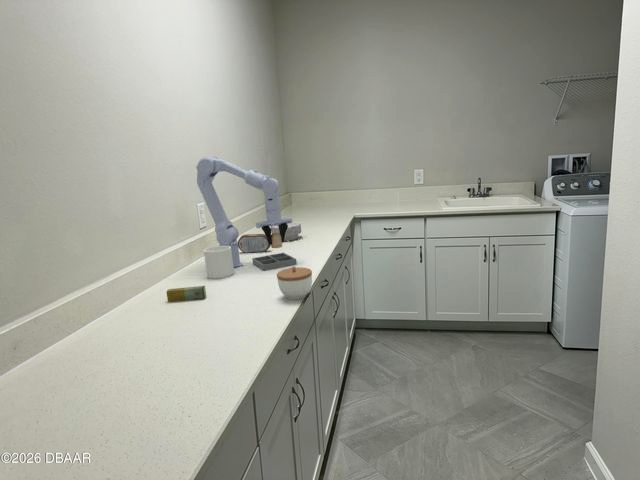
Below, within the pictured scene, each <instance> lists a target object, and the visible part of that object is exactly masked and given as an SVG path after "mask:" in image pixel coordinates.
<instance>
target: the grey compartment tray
mask: <svg viewBox="0 0 640 480" xmlns="http://www.w3.org/2000/svg"><path fill="white" fill-rule="evenodd" d="M251 259H252V264H253V265H254V266H256V267H257V268H258V269H260V270H261V271H263V272H265V271H269V270H276V269H280V268H285V267H290V266H294V265H295V266H296V265H298V263H297V258H295V257H294V256H292V255H289V254H287V253H285V252H280V253H274V254H269V255H263V256H259V257H258V256H257V257H252V258H251Z"/></svg>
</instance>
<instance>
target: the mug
mask: <svg viewBox="0 0 640 480" xmlns="http://www.w3.org/2000/svg"><path fill="white" fill-rule="evenodd" d="M203 256H204V263H205V270H206V277H207V279H210V278H211V280H220V279H225V278H226V279H227V278H230V277H231V276H233V275H234V273H235V269H234V268H235V267H233V259H232V251H231V247H230V246H220V245H216V246H210V247H207V248H204V249H203Z"/></svg>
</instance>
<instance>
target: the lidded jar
mask: <svg viewBox="0 0 640 480" xmlns="http://www.w3.org/2000/svg"><path fill="white" fill-rule="evenodd" d="M312 275H313V271H312V269H311V268H307V267H300V266H299V267H298V266H297V267H296V266H292V267H289V268H284V269H282V270H279V271H278V272H277V273H276V277H277V283H278V284H277V285H278V288H279V291H280V293H281V294H282V295H283V296H285V297H286V299H288V300H292V301H293V300H294V301H295V300H302V299H304V298H306V297H307V295H308V294H309V293H310V291H311V288H312V285H313V284H312V283H313V276H312Z"/></svg>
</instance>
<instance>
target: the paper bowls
mask: <svg viewBox="0 0 640 480" xmlns="http://www.w3.org/2000/svg"><path fill="white" fill-rule="evenodd" d="M287 225H288V228H287V230H286V233H285V237H284V242H290V241H294V240H296V239H297V238H298V236H299V235H300V234H301V233H302V225H301V222H297V221H292V223H288V224H287ZM270 228H271V235H272V234H273V233H279V234H280V232H279V227H278V225H274V226H270Z"/></svg>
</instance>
